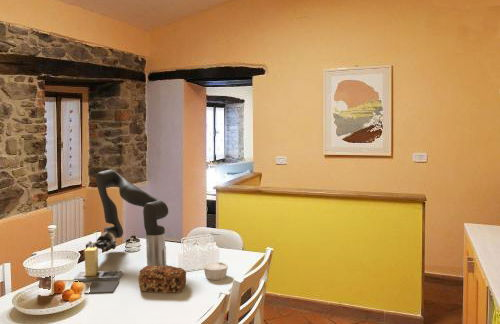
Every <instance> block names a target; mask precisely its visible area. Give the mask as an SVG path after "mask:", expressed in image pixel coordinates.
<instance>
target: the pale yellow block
mask: <svg viewBox="0 0 500 324" xmlns="http://www.w3.org/2000/svg"><path fill="white" fill-rule="evenodd" d="M98 253H99V249H97V247H95V248H87V249H86V248H85V249H84V269H85V271H84V272H85V273H86V277H98V275H99V272H98V271H99V258H98V257H99V254H98Z"/></svg>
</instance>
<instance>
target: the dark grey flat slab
mask: <svg viewBox="0 0 500 324" xmlns="http://www.w3.org/2000/svg"><path fill="white" fill-rule="evenodd" d="M98 272H99V275H98V277H86V273H85V271H80V272H78V274H77V275H76V276H75V277H74V278H73V281H74V280H78V281H84V283H85V282H86V283H87V282H89V283H90V282H110V281H120V278H121V277H122V275H123V272H124V271H123V270H107V271H106V270H105V271H104V270H100V271H99V270H98Z"/></svg>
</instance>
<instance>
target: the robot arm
mask: <svg viewBox="0 0 500 324" xmlns="http://www.w3.org/2000/svg"><path fill="white" fill-rule="evenodd" d="M95 183H96V186H97V190H98V195H99V197H100V200H101V203H102V207H103V208H102V209H103V213H104V220H105V223H106V224H110V225H108V226H105V227H104V229H103V233H101V235H99V237H98V238H97V239H96V241H95V242H92V241H91V240H90V241H88V242H87V243H86V244H85V250H86V249H87V248H95V247H97V249H98V250H99V249H100V250H103V251H104V250H105V252H109V251H110V250H115V249H116V247H117V241H116V239H120V238H122V237H123V235H124V228H123V226H122V224H121V223H120V222H121V221H120V220H119V215H118V214H119V213H118V208H117V205H116V204H115V202H114V201H113V200H112V199H111V198H110V196H109V195H108V191H107V189H108V188H109V187H114V186H115V187H117V188H118V190H119V192H118V193H119V196H120V197H121V199H123V201H126V202H127V203H128V204H130V205H134V206H137V207H142V208H143V211H142V212H143V226H144V230H145V245H146V248H145V249H146V266H150V265H153V266H158V265H160V266H162V265H164V266H167V246H166V229H165V227H164V226H163V225H158V221H159V220H162V219H164V218H165V217H167V216H168V214H169V207H168V206H167V204H166V202H164V201H163V200H161V199H159V198H157V197H154V196H153V195H151V194H149V193H147V192H145V191H144V190H142V189H141V187H140V188H139V187H138V186H136V185H135V184H134V183H132V182H130V181H128V180H127V179H126V178H124V177H123V176H122V175H121V174H120V173H118V172H117V171H116V170H115V169H107V170H103V171H99V172H97V173H96V175H95Z"/></svg>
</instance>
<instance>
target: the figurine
mask: <svg viewBox="0 0 500 324" xmlns="http://www.w3.org/2000/svg"><path fill="white" fill-rule="evenodd" d="M53 278H54V282H55V275H54V277H53ZM55 283H56V282H55ZM38 287H39V288H43V289H48V290H50V289H51V276H49V277H45V278H40V277H39V281H38ZM38 287H37V288H38Z"/></svg>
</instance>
